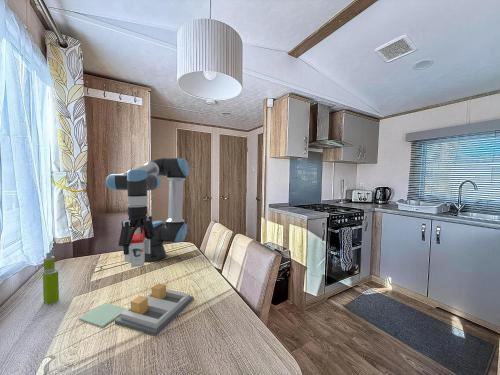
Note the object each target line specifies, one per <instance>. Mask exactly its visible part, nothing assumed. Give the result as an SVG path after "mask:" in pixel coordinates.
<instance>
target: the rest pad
mask: <svg viewBox="0 0 500 375" xmlns="http://www.w3.org/2000/svg"><path fill="white" fill-rule="evenodd" d="M126 309H127V308H126V307H123V306H118V305H116V304H112V303H109V302H108V303H107V302H103V304H101V305H99V306H97V307H96V308H93V309H91V311H88V312H87V313H85V314H83V315H82V316H80V317H78V320H79V321H81V322H84V323H88V324H90V325H93V326H96V327H99V328H104V327H106V326H108V325H109V324H110V323H112V322H113V321H115V320H116V319H117V318H119V317H120V316H121V313H122V312H123V311H125V310H126Z"/></svg>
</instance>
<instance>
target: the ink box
mask: <svg viewBox="0 0 500 375" xmlns="http://www.w3.org/2000/svg"><path fill="white" fill-rule="evenodd" d="M141 232H142V233H137V234H136V233H134V235H133V238H132V240H131V243H130V246H131V255H132V262H130V268H138V267H144V266H145V262H144V261H145V231H144V229H143V231H141Z"/></svg>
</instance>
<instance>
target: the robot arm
mask: <svg viewBox="0 0 500 375" xmlns="http://www.w3.org/2000/svg"><path fill="white" fill-rule="evenodd" d="M189 174H190V166H189V163H188V160H186V158H182V157H181V158H180V157H177V158H176V157H174V158H173V157H172V158H171V157H164V158H163V157H161V158H156V159H153V160H150V161H147V162H146V163H145V164H144V165H141V166H138V167H135V168H133V169H128V170H127V171H125V172H123V173H118V174H117V173H114V174H113V173H111V174H108V176H106V180H105V183H106V187H107V189H109V190H111V191H127V196H126V197H127V206H128V207H127V216H128V219H127V220H122V221H121V231H120V236H119V240H118V246H119V247H122V248H123V255H124V262H126V263H131V262H132V255H131V240H132V238H133V235H134V234H136V233H135V232H136V231H137V230H138V228H140V229H141V232H143V229H144V231H145V261H144V263H152V262H153V263H154V262H158V261H162V260H163V259H165V258H166V257H167V251H166V250H165V247H164V243H182V242H184V241H185V238H186V236H187V233H188V224H187V223H185V220H184V218H183V208H184V207H183V204H184V201H183V200H184V182H185V180H186V179H187V177H189ZM160 176H161V177H166V179H167V180H168V181H169V182H168V184H169V188H168V208H167V210H168V212H167V214H168V215H167V219H166V220H165V223H164V221H163V220H154V221H153V216H152V215H148V211H149V210H148V206H147V205H148V191H155V190H157V189H159V187H160V185H161V180H160V178H159V177H160Z"/></svg>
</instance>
